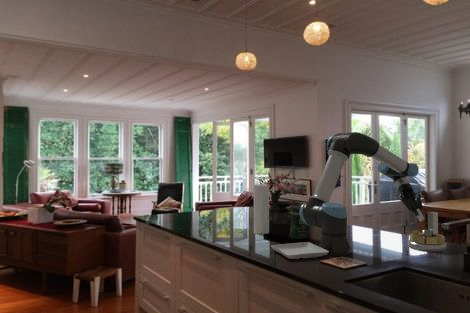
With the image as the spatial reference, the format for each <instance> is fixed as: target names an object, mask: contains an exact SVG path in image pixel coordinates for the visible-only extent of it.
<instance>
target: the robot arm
mask: <svg viewBox="0 0 470 313" xmlns="http://www.w3.org/2000/svg"><path fill="white" fill-rule="evenodd" d="M326 151H327V155H328V159H327V161H326V163H325V166H324V168H323V171H322V173H321V175H320V177H319V181H318V184H317V185H316V187H315V190H314V194H313V195H311V196H309V198H308V200H307V202H304V203H302V205H300V206H301V208H300V217H301V220H302V222H303V223H305V224H306V226H310V227H314V228H320V229H321V239H320V242H319V244H318V246H319V247H321V248H323V249H325V250H327V251H329V253H328V254H326V255H325V256H339V257H342V256H348V255H350V254H351V252H352V251H351V250H352V249H351V245H350V242H349V240H348V233H347V232H348V229H347V228H348V213H347V207H346V206H345V205H344V204H341V203H337V202H330V200H331V197H332V194H333V192H334V190H335V188H336V185H337V183H338V179H339V177H340V175H341V172H342V169H343V167H344V165H345V163H346V162H347V161H349V160H350V156H351V155H363V156H365V157H367V158H373V159H374V160H375V161H378V162H379V163H378V164H377V171H378V173H380V174H381V175H383V176H386V177H388V178H390V179H391V180H392V181H393V183H394V185H395V187H396V189H397V190H398V193H399V194H400V195H399V196H398V200H399V201H400V202H402V203H403V205H404V206H405V207H406V208H407V209H408V211H410V212H412V213H413V214H414V215H415V217H417V219H418V220H419V223H420V222H423V221H424V220H425V217H424V213H423V211H422V210H423V208H424V206H423V202H422V199H421V197H422V195H421V194H416V192H415V190H414V188H413V186H412V185H411V183H410V181H409V179H408V177H409V178H410V177H416V176H417V175H418V174H419V172H420V171H419V170H420V169H419V165H418V164H417V163H415V162H407V161H406V160H404V159H403V158H401V157H400V156H398V155H396V154H395V153H393V152H392V151H390V150H388V149H387V148H385V147H384V146H382V145H380V143H379V142H378V140H376V139H374V138H373V137H371V136H369V135H367V134H366V133H365V134H364V133H361V132H357V131H353V132H338V133H335V134H332V135H331V136H329V137H328V139H327V140H326Z"/></svg>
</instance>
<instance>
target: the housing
mask: <svg viewBox="0 0 470 313" xmlns="http://www.w3.org/2000/svg"><path fill="white" fill-rule="evenodd" d="M421 232H422V234H424V237H432V230H428V228H427V229H422V230H421ZM408 248H409V249H412V250H415V251H419V252H420V251H422V252H429V253H442V252H445V251H447V242H445V243H443V244H426V243H425V244H422V243H417V242H413V241H411V240H410V239H409V240H408Z"/></svg>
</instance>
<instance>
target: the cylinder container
mask: <svg viewBox="0 0 470 313" xmlns="http://www.w3.org/2000/svg"><path fill="white" fill-rule="evenodd" d="M253 233H254V234H257V235H258V234H259V235H266V234H267V235H268V234H270V185H269V184H265V183H259V184H253Z"/></svg>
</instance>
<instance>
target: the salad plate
mask: <svg viewBox="0 0 470 313" xmlns="http://www.w3.org/2000/svg"><path fill="white" fill-rule="evenodd" d="M270 246H271V249H273V250H274V251H275V252H277V253H279V254H280V255H282V256H284V257H285V258H287V259H290V260H300V258H303V259H311V258H319V257H324V256H327V255H326V254H328V253H329V251H327V250H325V249H323V248H321V247H319V245H316V244H313V243H312V242H309V241H306V242H305V241H304V242H293V243H283V244H273V245H270Z"/></svg>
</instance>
